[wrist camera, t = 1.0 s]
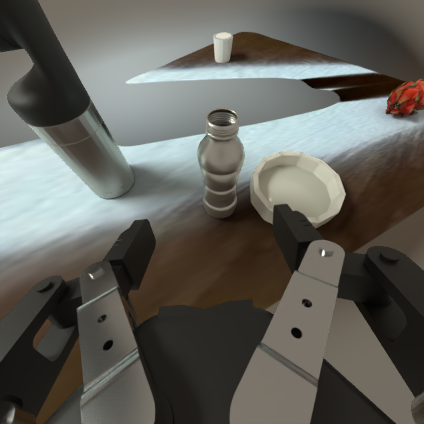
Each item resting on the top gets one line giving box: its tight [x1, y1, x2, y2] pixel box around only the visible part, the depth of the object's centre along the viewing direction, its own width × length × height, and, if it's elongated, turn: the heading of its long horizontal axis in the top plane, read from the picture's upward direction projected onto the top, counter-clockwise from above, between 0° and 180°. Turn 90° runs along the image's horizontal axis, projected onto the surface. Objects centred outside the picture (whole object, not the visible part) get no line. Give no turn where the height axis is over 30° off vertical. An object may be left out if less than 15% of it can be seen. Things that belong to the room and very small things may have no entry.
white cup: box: [213, 32, 233, 63], centre depth 68 cm, size 7×7×7 cm
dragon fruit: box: [386, 79, 424, 116], centre depth 50 cm, size 8×8×12 cm
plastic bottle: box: [197, 108, 245, 218], centre depth 29 cm, size 6×7×20 cm
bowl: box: [250, 152, 346, 228], centre depth 38 cm, size 17×17×4 cm
